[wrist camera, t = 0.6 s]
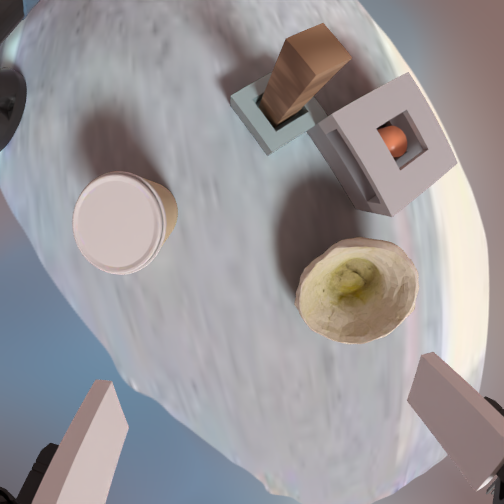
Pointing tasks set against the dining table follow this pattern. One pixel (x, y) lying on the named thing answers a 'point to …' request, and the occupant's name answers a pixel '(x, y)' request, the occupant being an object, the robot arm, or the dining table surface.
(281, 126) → the holder
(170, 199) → the coffee cup
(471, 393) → the robot arm
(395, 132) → the button
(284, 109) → the brown wooden bar
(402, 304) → the bowl
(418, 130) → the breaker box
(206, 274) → the dining table surface
